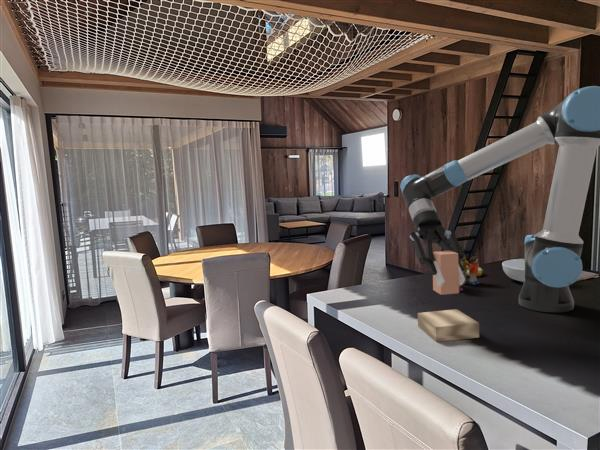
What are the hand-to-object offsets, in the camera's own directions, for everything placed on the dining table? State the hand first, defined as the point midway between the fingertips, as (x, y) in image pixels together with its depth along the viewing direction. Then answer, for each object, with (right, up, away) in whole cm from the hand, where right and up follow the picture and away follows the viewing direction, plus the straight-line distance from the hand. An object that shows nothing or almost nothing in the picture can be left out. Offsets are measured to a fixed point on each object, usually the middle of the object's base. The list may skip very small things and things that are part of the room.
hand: (452, 283), depth 107 cm
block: (0, -3, +4) cm, 5 cm away
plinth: (+1, -14, +5) cm, 15 cm away
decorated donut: (+33, -6, +67) cm, 75 cm away
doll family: (+22, -9, +51) cm, 56 cm away
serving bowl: (+51, -7, +51) cm, 73 cm away
